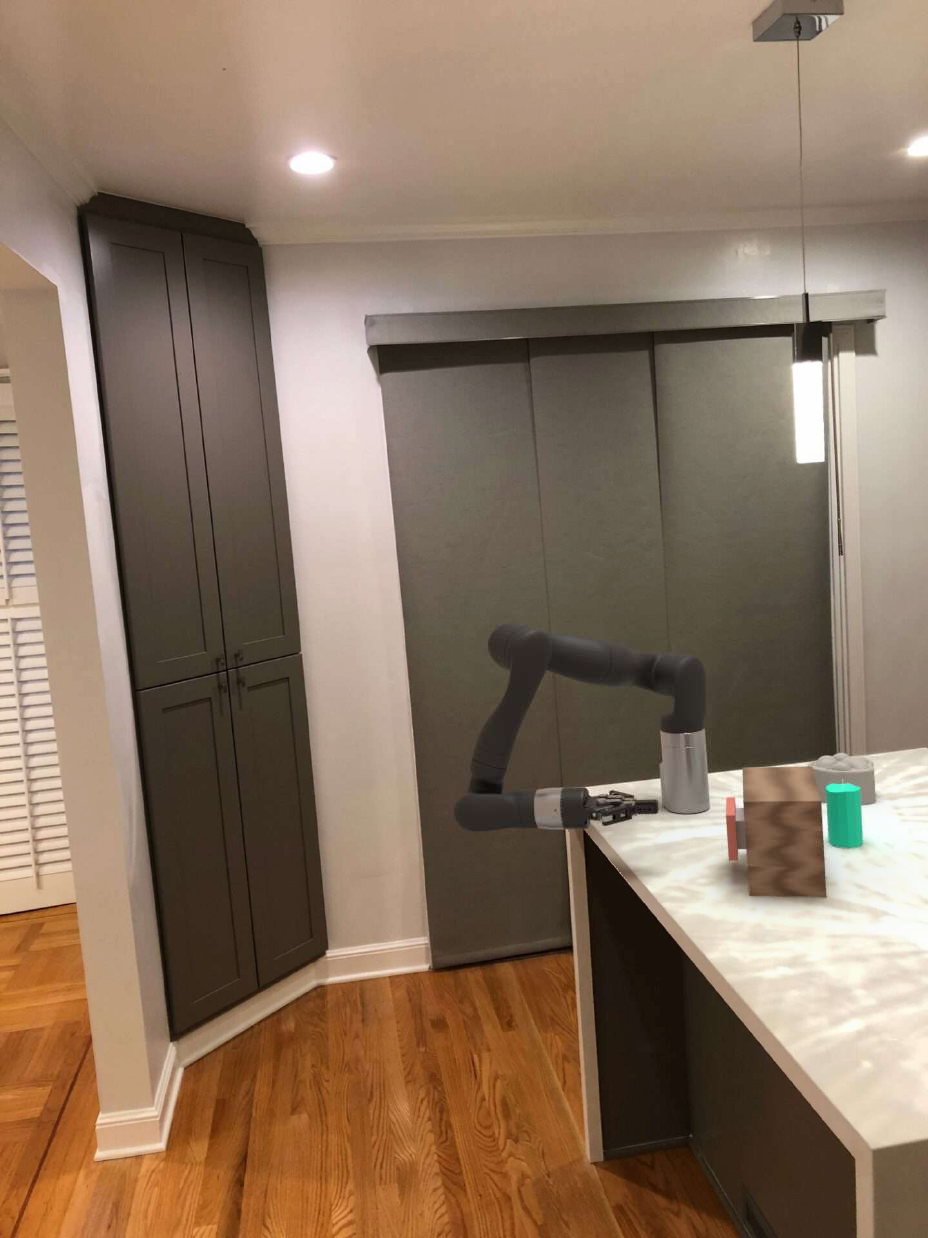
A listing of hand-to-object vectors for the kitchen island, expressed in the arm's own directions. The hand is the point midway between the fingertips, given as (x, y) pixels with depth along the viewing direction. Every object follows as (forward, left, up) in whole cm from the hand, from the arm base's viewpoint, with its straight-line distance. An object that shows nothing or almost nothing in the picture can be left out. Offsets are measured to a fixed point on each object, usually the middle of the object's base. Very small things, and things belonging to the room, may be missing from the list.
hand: (658, 806), depth 172 cm
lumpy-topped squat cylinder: (-1, +54, -12) cm, 55 cm away
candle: (+15, +32, -12) cm, 37 cm away
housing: (+16, +13, -12) cm, 24 cm away
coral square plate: (+13, +10, -8) cm, 18 cm away
